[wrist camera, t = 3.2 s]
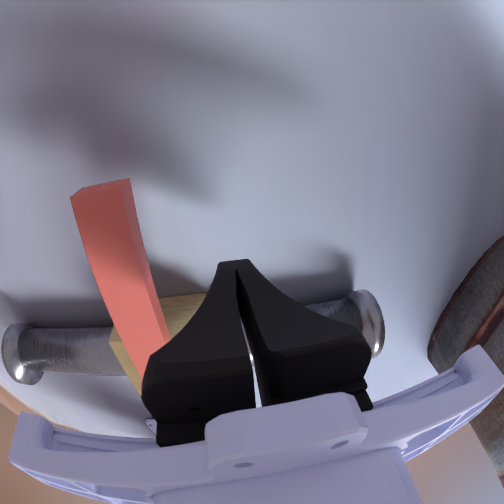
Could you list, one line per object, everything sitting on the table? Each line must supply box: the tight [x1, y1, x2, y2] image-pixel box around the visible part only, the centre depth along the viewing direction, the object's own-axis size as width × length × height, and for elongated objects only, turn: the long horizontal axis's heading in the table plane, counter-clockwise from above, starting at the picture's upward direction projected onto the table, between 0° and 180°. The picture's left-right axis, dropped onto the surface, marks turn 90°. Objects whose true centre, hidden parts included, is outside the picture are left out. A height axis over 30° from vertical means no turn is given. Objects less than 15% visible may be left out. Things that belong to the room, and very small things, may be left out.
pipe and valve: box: [1, 289, 385, 396], centre depth 17 cm, size 6×28×5 cm, turn 93°
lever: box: [70, 178, 171, 393], centre depth 12 cm, size 14×3×1 cm, turn 3°
